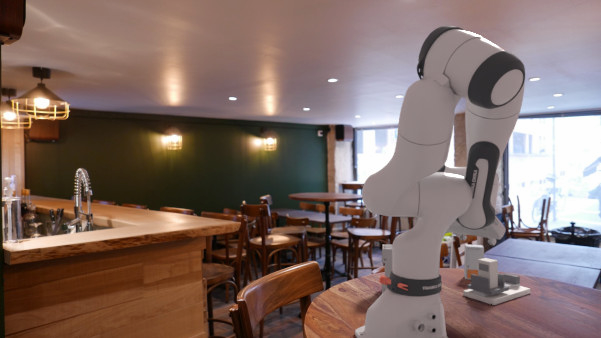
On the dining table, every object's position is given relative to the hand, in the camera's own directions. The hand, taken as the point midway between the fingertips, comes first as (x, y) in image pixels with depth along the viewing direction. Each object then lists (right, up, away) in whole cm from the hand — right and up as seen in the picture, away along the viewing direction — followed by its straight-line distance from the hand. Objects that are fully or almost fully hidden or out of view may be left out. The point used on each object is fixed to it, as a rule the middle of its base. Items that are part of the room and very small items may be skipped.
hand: (478, 240), depth 116 cm
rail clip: (+8, -16, +4) cm, 19 cm away
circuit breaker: (-21, -18, +4) cm, 28 cm away
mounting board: (+8, -18, +4) cm, 20 cm away
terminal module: (+4, -14, +2) cm, 15 cm away
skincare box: (+8, -18, +21) cm, 29 cm away
